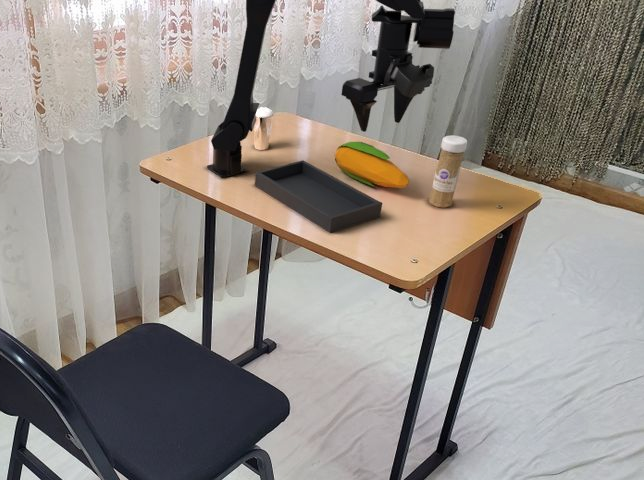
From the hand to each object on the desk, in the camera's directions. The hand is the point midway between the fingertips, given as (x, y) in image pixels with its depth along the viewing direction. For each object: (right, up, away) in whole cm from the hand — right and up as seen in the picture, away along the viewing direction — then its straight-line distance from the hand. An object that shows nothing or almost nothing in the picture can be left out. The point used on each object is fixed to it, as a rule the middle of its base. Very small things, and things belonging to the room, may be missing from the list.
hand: (380, 126), depth 149 cm
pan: (-13, -15, 0) cm, 20 cm away
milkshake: (-22, +2, +23) cm, 32 cm away
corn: (0, -10, +8) cm, 12 cm away
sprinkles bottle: (+12, -16, -1) cm, 20 cm away
